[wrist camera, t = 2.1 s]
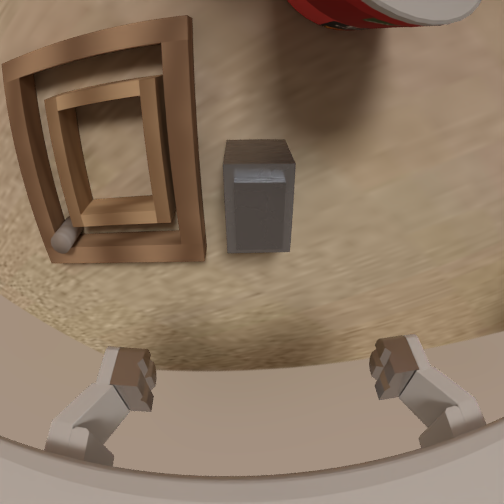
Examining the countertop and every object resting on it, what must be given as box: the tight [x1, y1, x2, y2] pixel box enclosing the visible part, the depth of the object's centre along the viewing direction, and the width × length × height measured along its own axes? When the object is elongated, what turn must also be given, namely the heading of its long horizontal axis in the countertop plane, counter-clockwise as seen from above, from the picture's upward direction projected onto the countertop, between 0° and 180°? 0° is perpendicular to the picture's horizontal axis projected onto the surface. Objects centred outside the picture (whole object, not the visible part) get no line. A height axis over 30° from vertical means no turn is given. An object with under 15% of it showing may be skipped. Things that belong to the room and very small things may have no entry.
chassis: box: [2, 15, 207, 263], centre depth 20 cm, size 14×18×3 cm
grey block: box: [223, 139, 296, 253], centre depth 21 cm, size 4×6×6 cm, turn 0°
